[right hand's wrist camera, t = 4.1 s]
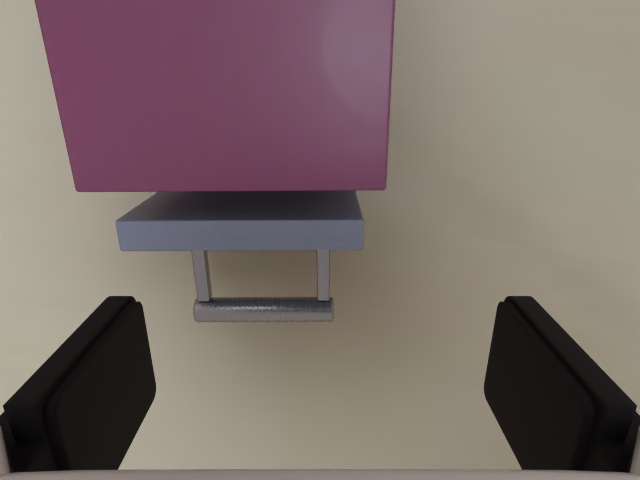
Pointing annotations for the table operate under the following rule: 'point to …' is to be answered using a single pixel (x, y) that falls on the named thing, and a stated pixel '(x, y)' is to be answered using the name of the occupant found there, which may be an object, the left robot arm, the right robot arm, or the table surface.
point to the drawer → (248, 241)
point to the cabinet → (222, 93)
